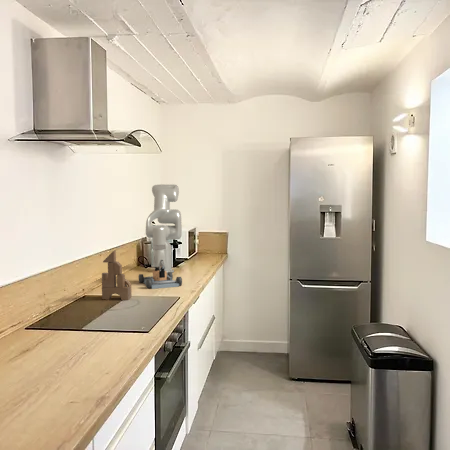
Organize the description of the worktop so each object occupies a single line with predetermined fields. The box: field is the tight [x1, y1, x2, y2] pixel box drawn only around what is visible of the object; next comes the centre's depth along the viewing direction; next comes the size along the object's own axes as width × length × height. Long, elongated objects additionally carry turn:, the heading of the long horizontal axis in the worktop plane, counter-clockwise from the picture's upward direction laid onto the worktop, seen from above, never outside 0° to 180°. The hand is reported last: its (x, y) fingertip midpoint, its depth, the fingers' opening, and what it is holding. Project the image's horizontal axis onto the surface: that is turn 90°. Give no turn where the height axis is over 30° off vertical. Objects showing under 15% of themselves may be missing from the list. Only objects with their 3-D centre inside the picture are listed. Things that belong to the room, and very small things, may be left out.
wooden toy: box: [101, 250, 133, 301], centre depth 240 cm, size 16×7×25 cm, turn 83°
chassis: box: [138, 272, 183, 290], centre depth 278 cm, size 24×20×5 cm
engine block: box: [152, 270, 167, 281], centre depth 278 cm, size 5×7×6 cm
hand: (159, 276), depth 278 cm, fingers open, 9 cm apart
